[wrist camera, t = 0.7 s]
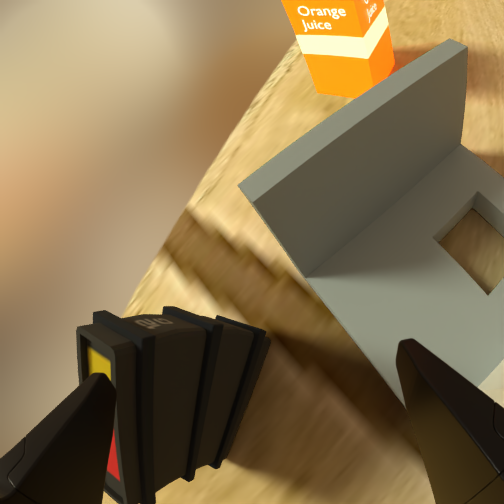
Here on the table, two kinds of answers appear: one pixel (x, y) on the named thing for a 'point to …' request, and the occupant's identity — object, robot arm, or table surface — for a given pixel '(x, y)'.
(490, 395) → the block
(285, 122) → the table surface
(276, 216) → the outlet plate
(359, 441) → the table surface
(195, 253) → the table surface
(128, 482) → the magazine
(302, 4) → the orange juice
